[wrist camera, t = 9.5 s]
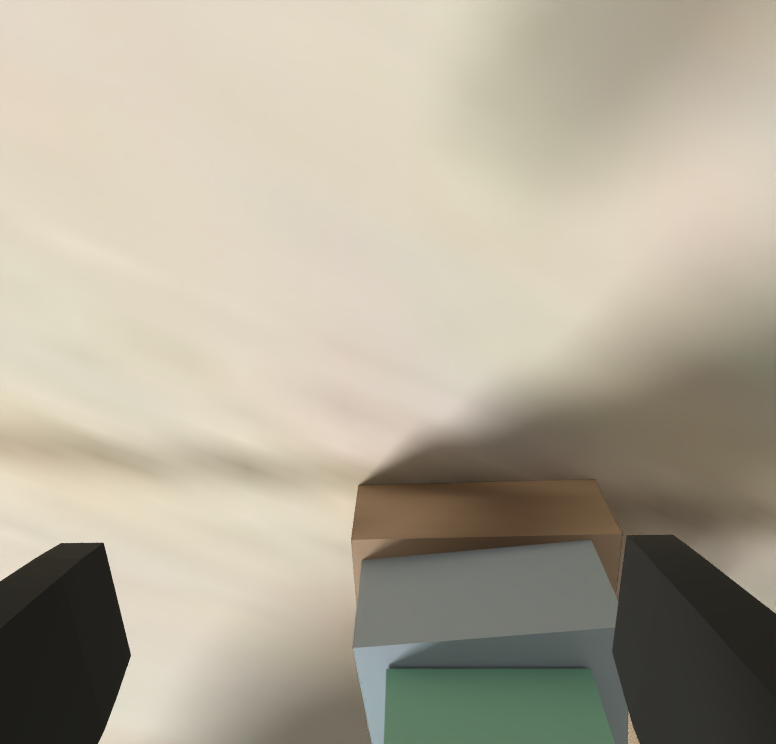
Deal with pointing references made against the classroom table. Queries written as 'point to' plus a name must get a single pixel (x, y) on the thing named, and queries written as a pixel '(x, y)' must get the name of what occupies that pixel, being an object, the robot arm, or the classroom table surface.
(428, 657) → the slate-grey block
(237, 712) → the classroom table surface
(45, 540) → the classroom table surface
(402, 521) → the walnut base block
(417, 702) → the light green block
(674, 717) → the robot arm
